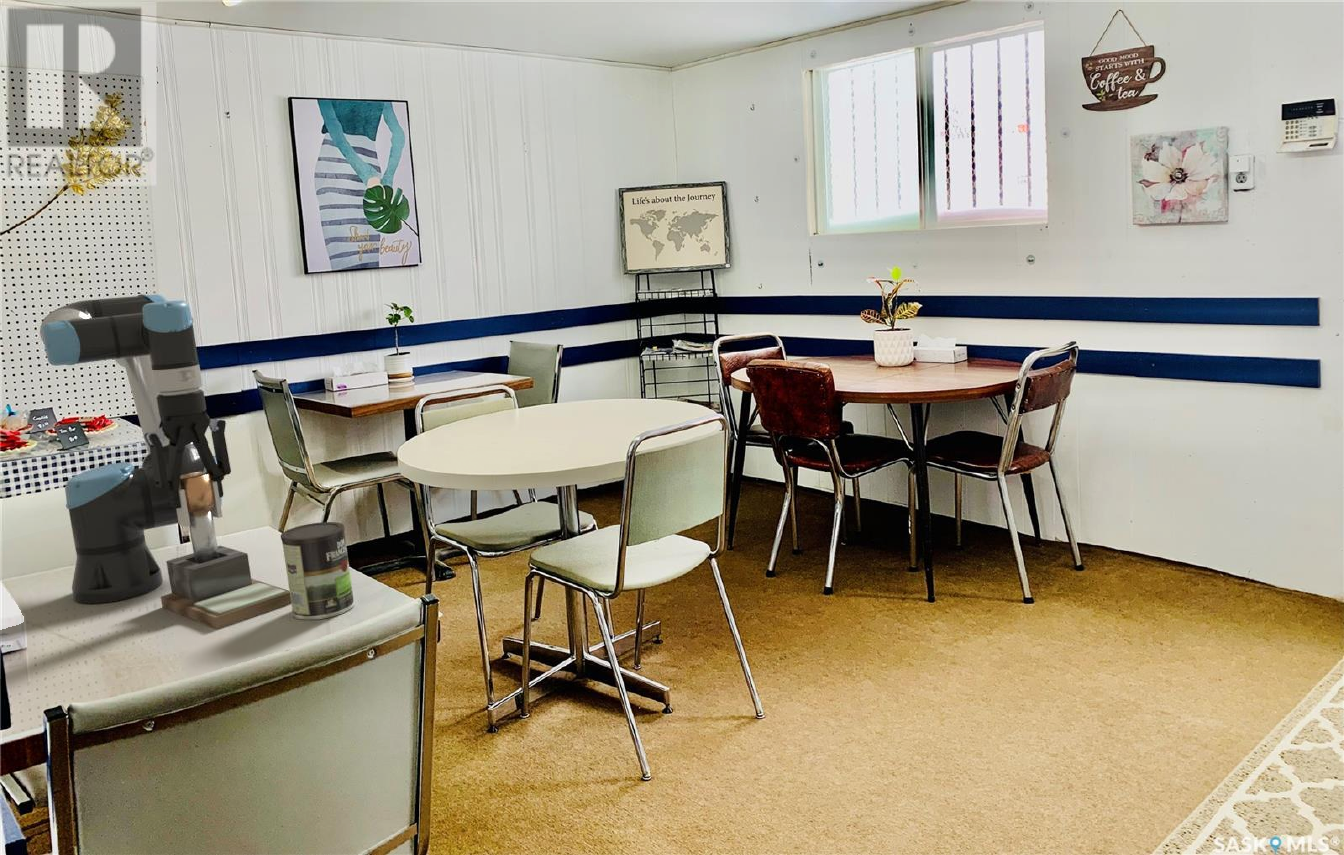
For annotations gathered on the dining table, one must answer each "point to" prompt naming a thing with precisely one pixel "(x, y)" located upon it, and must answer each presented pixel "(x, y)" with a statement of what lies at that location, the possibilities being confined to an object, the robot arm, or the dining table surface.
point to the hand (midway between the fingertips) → (200, 520)
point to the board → (219, 589)
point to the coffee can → (318, 570)
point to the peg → (200, 515)
